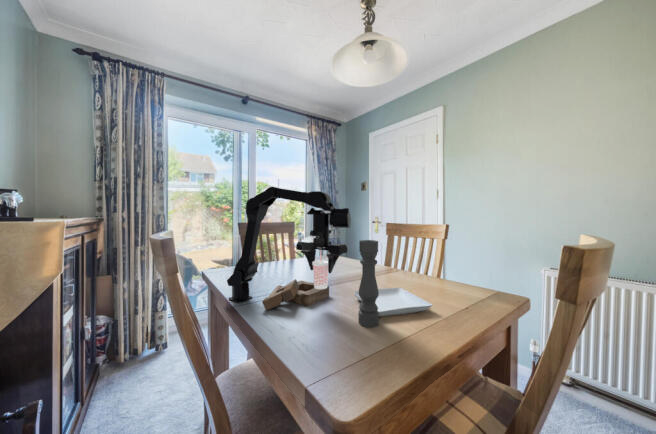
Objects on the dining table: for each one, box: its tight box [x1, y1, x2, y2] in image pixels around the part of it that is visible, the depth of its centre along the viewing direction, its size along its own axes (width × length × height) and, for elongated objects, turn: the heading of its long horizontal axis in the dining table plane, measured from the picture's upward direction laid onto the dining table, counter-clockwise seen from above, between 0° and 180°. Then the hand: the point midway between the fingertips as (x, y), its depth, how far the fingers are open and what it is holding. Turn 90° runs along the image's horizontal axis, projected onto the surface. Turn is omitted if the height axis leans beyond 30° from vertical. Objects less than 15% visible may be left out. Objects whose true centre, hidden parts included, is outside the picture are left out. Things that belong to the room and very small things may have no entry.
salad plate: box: [352, 287, 433, 317], centre depth 89 cm, size 21×21×3 cm
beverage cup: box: [312, 250, 329, 289], centre depth 87 cm, size 6×6×14 cm
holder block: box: [279, 280, 330, 307], centre depth 98 cm, size 15×13×4 cm
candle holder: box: [357, 239, 380, 328], centre depth 75 cm, size 6×6×25 cm
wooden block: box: [261, 279, 299, 312], centre depth 93 cm, size 4×11×18 cm
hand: (320, 271), depth 87 cm, fingers closed on beverage cup, 7 cm apart
